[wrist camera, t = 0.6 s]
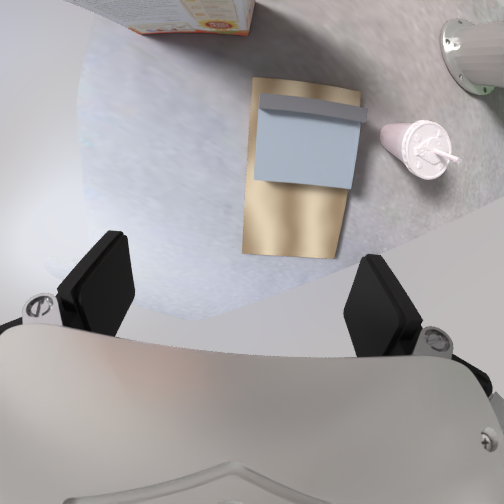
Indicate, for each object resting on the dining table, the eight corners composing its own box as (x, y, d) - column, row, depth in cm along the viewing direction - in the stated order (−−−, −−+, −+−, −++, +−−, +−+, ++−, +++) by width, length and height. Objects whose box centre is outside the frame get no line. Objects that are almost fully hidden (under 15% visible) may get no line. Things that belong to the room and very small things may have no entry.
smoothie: (412, 158, 33) (475, 191, 20) (372, 162, 33) (428, 197, 21) (409, 113, 30) (477, 127, 17) (367, 114, 30) (426, 126, 18)
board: (357, 92, 29) (366, 91, 26) (332, 254, 40) (337, 265, 38) (252, 77, 29) (252, 75, 26) (242, 249, 40) (241, 260, 37)
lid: (353, 107, 29) (367, 108, 25) (343, 182, 33) (355, 193, 29) (259, 95, 28) (260, 93, 24) (253, 173, 33) (253, 183, 29)
